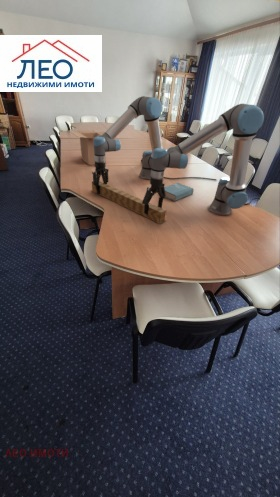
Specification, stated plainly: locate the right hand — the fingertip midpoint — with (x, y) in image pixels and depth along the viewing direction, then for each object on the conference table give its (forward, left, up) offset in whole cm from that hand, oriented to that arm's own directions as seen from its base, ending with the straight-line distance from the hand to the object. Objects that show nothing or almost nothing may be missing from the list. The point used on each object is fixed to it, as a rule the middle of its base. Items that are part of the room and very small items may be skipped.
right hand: (153, 210), depth 140 cm
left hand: (+25, -44, -5) cm, 51 cm away
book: (-32, -32, -5) cm, 46 cm away
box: (+19, -131, -5) cm, 133 cm away
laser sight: (-40, -112, -5) cm, 119 cm away
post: (+13, -22, -5) cm, 26 cm away
